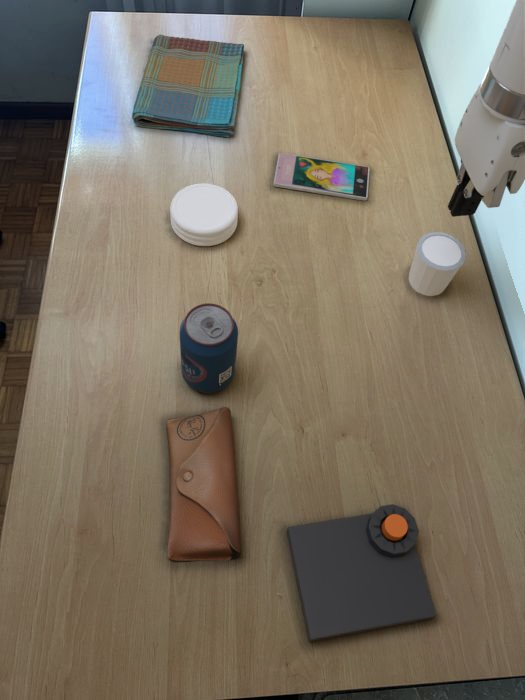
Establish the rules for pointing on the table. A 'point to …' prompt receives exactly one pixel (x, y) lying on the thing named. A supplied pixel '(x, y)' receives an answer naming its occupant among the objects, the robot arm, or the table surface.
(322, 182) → the smartphone
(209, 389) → the soda can
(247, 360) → the table surface
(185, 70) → the dish towel
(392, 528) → the button
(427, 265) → the white cylinder
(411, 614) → the scale
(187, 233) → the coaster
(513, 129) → the robot arm
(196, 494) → the sunglasses case
